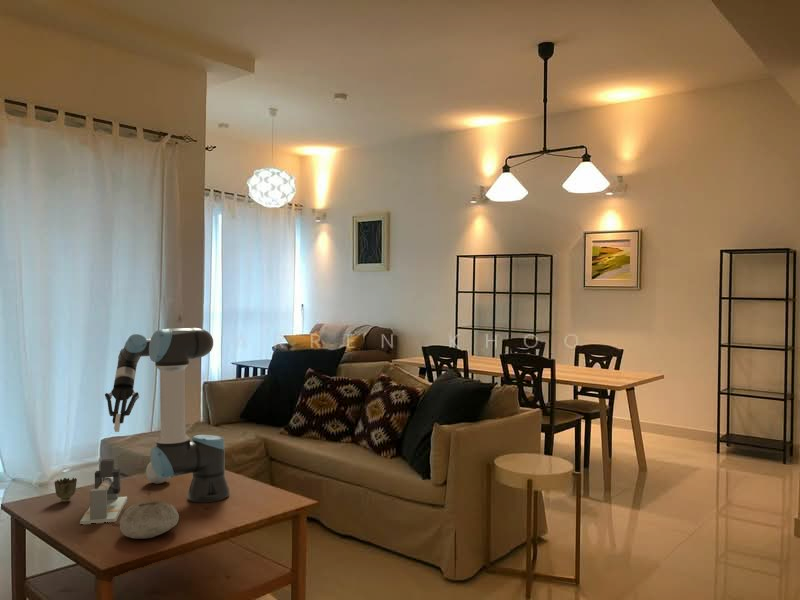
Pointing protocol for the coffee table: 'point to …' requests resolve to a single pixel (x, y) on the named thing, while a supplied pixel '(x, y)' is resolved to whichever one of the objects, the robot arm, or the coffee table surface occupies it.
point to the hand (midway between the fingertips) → (116, 429)
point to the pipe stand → (103, 504)
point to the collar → (108, 471)
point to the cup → (65, 489)
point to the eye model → (154, 475)
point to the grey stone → (148, 519)
